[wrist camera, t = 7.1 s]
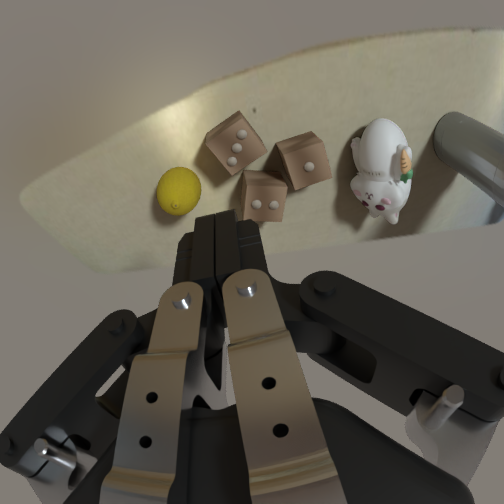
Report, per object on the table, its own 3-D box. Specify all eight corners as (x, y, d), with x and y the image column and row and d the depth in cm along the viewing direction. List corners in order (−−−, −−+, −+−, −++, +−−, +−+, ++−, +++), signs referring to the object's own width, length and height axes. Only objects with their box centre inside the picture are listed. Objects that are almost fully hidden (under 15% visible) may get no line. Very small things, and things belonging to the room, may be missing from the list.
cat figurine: (402, 126, 28) (401, 242, 36) (427, 119, 32) (425, 220, 39) (337, 120, 35) (345, 222, 43) (369, 112, 39) (374, 204, 46)
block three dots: (238, 110, 35) (242, 118, 30) (261, 139, 37) (267, 152, 33) (206, 133, 36) (205, 144, 32) (230, 161, 39) (232, 176, 35)
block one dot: (311, 131, 37) (323, 142, 33) (320, 163, 40) (332, 178, 36) (275, 142, 38) (283, 155, 34) (286, 174, 41) (295, 191, 37)
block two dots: (279, 171, 40) (288, 188, 36) (274, 203, 43) (282, 222, 39) (243, 169, 40) (247, 185, 36) (240, 202, 43) (243, 221, 39)
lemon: (199, 197, 41) (197, 228, 35) (160, 193, 40) (150, 224, 34) (205, 160, 38) (202, 186, 32) (163, 156, 37) (152, 181, 31)
